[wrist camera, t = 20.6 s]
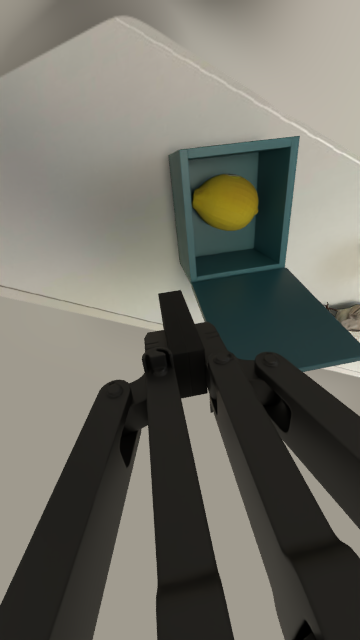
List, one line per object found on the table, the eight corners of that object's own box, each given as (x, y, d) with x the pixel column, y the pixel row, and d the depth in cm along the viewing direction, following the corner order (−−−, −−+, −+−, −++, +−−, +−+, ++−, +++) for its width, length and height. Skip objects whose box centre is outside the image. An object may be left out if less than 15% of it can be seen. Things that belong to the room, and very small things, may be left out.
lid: (229, 382, 25) (229, 386, 25) (371, 354, 26) (368, 359, 26) (191, 282, 38) (191, 287, 38) (286, 267, 39) (285, 272, 40)
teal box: (168, 155, 39) (179, 149, 30) (262, 144, 40) (299, 135, 31) (179, 262, 47) (190, 283, 38) (256, 251, 49) (284, 268, 40)
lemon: (256, 187, 42) (280, 190, 35) (236, 233, 45) (254, 244, 38) (197, 160, 39) (211, 158, 32) (180, 213, 42) (189, 220, 35)
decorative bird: (371, 320, 62) (398, 337, 56) (313, 320, 60) (335, 338, 53) (382, 300, 60) (411, 315, 53) (321, 299, 57) (345, 315, 51)
